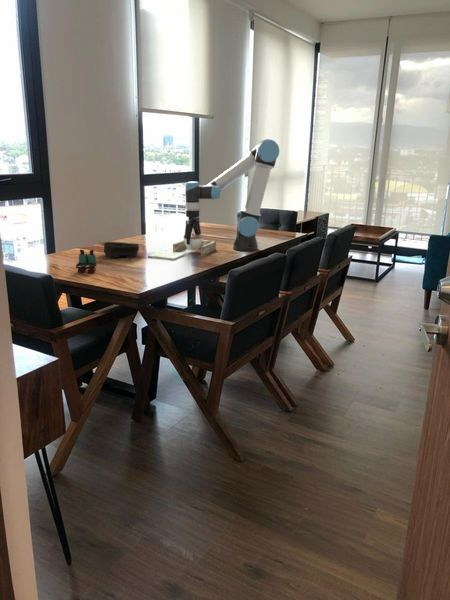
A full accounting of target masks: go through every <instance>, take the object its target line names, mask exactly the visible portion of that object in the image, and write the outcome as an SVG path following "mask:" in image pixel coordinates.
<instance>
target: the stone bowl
mask: <svg viewBox="0 0 450 600" xmlns="http://www.w3.org/2000/svg"><path fill="white" fill-rule="evenodd" d="M98 243H99V245H101V246H103V252H104V254H105V255H104V256H105V257H106V258H108V257H109V259H114V258H115V259H117V258H121V257H122V256H125V257H126V258H129V259H130V258H134V257H137V255H138V253H139V250H140V248H141V247H144V246H145V244H144V243H139V242H131V241H130V242H127V241H102V242H100V241H98Z"/></svg>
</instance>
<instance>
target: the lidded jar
mask: <svg viewBox="0 0 450 600" xmlns="http://www.w3.org/2000/svg"><path fill="white" fill-rule="evenodd" d="M183 240H184V244H185V246H186V247H187V244H186V238H185V234H184V235H183ZM202 240H203V235H202V234H201V235H199V234H195V232H192V234H191V250H190V251H193V250H194V251H195V250H199V247H200V246H201V243H202Z"/></svg>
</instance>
